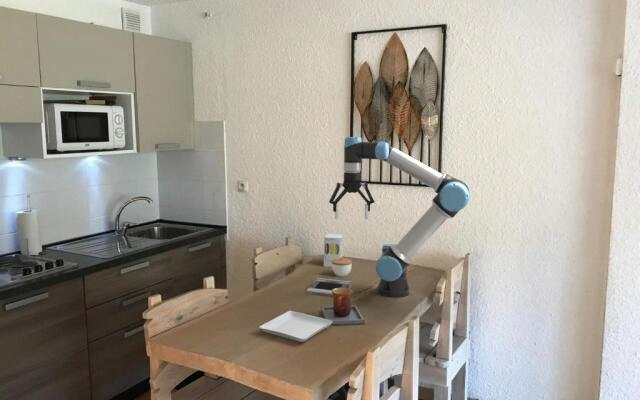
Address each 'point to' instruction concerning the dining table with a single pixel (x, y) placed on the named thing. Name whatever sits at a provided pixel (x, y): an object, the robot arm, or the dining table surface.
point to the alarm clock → (327, 286)
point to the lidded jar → (341, 266)
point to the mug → (342, 301)
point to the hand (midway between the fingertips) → (351, 218)
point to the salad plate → (295, 326)
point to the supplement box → (332, 248)
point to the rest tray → (351, 319)
